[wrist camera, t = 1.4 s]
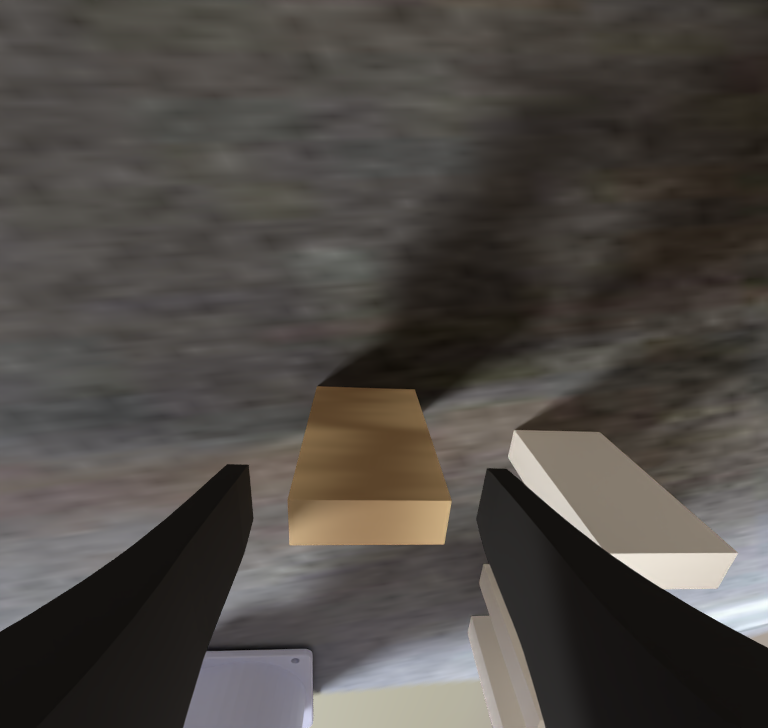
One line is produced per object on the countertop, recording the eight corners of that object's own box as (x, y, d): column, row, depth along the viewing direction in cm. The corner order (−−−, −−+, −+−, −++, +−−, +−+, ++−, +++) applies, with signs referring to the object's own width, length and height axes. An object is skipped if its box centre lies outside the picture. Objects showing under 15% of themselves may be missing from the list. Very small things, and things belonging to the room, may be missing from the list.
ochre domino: (317, 417, 16) (289, 545, 10) (317, 386, 16) (287, 499, 9) (411, 419, 17) (444, 544, 10) (414, 389, 16) (451, 500, 10)
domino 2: (467, 632, 23) (510, 795, 16) (471, 615, 22) (517, 777, 16) (533, 630, 23) (601, 789, 17) (538, 614, 23) (611, 771, 16)
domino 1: (479, 583, 21) (531, 742, 15) (483, 563, 21) (540, 720, 14) (549, 582, 22) (631, 737, 15) (556, 563, 21) (643, 715, 15)
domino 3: (508, 457, 18) (591, 590, 11) (514, 429, 17) (606, 553, 11) (590, 458, 18) (717, 588, 12) (599, 432, 18) (737, 552, 11)
